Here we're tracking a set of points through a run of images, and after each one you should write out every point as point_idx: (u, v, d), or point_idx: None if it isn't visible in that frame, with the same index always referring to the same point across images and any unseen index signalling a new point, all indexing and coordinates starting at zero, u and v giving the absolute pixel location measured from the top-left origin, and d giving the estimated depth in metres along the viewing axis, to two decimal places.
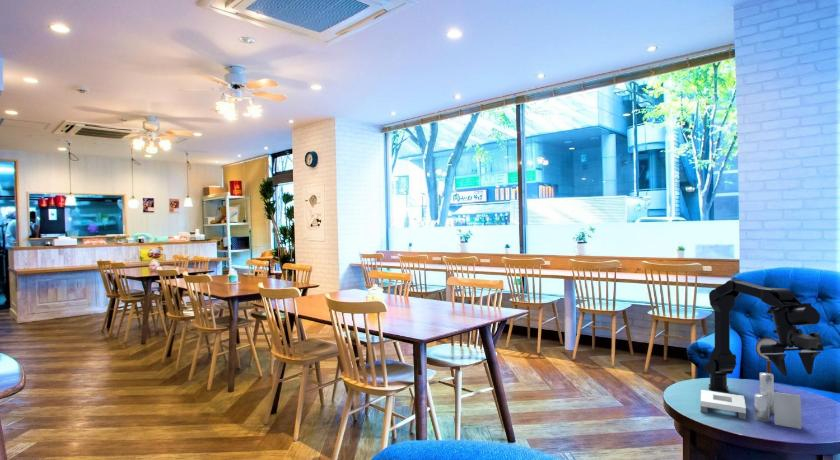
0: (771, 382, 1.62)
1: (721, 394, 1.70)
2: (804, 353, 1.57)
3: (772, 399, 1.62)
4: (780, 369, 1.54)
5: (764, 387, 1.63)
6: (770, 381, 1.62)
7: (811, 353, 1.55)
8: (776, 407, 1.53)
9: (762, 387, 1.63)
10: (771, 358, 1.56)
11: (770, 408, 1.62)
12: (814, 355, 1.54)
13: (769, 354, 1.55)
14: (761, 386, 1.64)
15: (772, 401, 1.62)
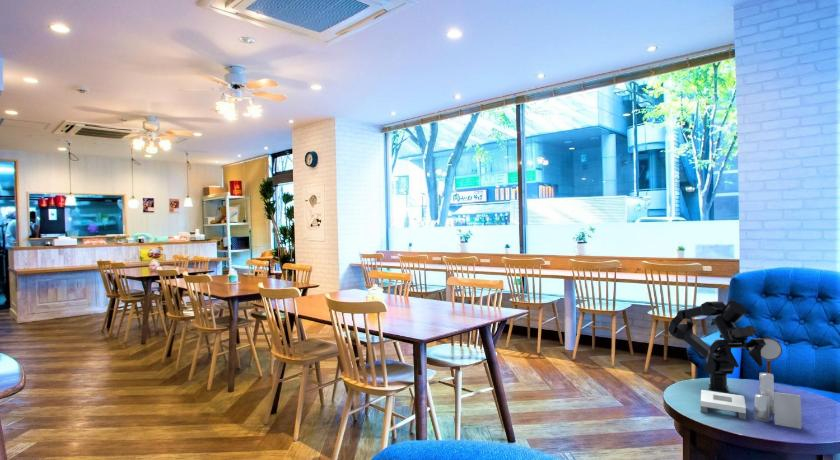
0: (771, 382, 1.62)
1: (721, 394, 1.70)
2: (752, 350, 1.77)
3: (772, 399, 1.62)
4: (732, 362, 1.73)
5: (764, 387, 1.63)
6: (770, 381, 1.62)
7: (755, 347, 1.75)
8: (776, 407, 1.53)
9: (762, 387, 1.63)
10: (722, 355, 1.76)
11: (770, 408, 1.62)
12: (758, 348, 1.74)
13: (718, 351, 1.76)
14: (761, 386, 1.64)
15: (772, 401, 1.62)
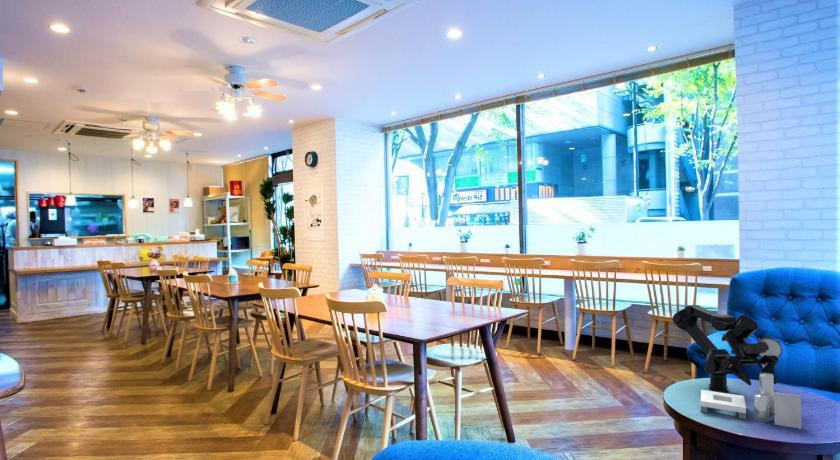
0: (771, 382, 1.62)
1: (721, 394, 1.70)
2: (764, 367, 1.71)
3: (772, 399, 1.62)
4: (744, 380, 1.67)
5: (764, 387, 1.63)
6: (770, 381, 1.62)
7: (768, 364, 1.69)
8: (776, 407, 1.53)
9: (762, 387, 1.63)
10: (734, 372, 1.70)
11: (770, 408, 1.62)
12: (772, 365, 1.69)
13: (730, 368, 1.70)
14: (761, 386, 1.64)
15: (772, 401, 1.62)
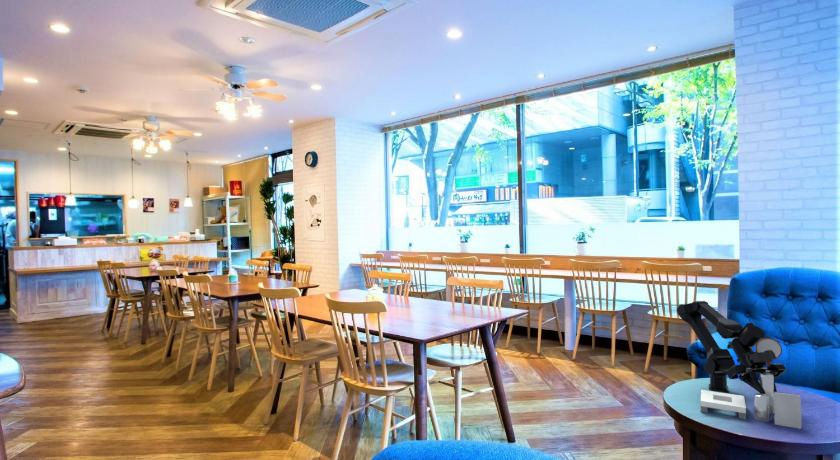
0: (771, 382, 1.62)
1: (721, 394, 1.70)
2: None
3: (772, 399, 1.62)
4: (757, 389, 1.64)
5: (764, 387, 1.63)
6: (770, 381, 1.62)
7: None
8: (776, 407, 1.53)
9: (762, 387, 1.63)
10: (747, 381, 1.67)
11: (770, 408, 1.62)
12: None
13: (742, 376, 1.67)
14: None
15: (772, 401, 1.62)
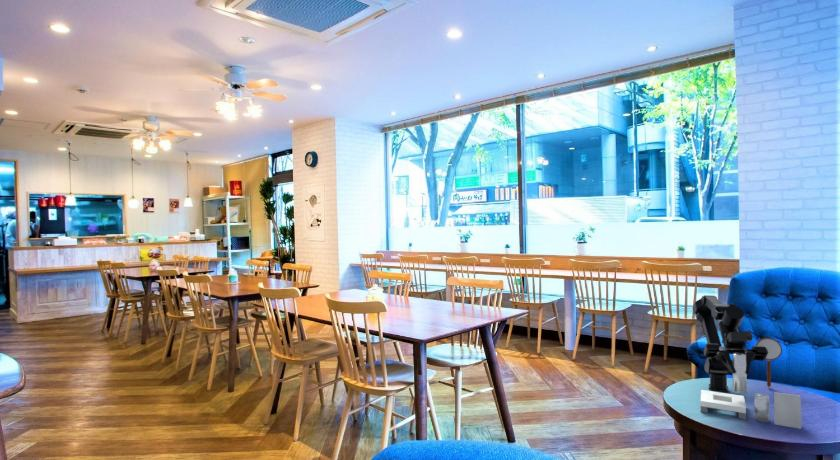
0: (741, 362, 1.63)
1: (721, 394, 1.70)
2: None
3: (743, 379, 1.63)
4: (729, 368, 1.66)
5: (735, 366, 1.64)
6: (740, 361, 1.63)
7: (746, 354, 1.66)
8: (776, 407, 1.53)
9: (733, 367, 1.65)
10: (722, 360, 1.70)
11: (740, 387, 1.63)
12: (749, 355, 1.65)
13: (717, 355, 1.70)
14: (733, 365, 1.65)
15: (743, 381, 1.63)
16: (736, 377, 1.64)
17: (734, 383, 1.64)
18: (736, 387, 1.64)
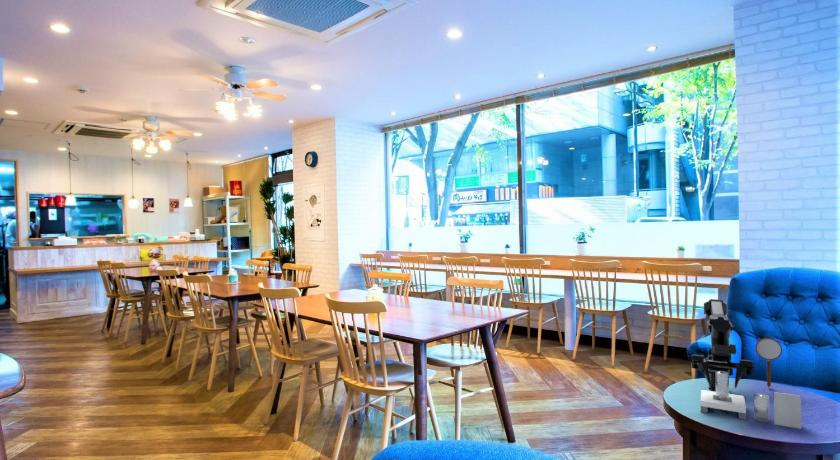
0: (722, 380, 1.65)
1: None
2: None
3: (724, 397, 1.65)
4: (706, 379, 1.69)
5: (716, 384, 1.66)
6: (721, 379, 1.65)
7: (736, 368, 1.66)
8: (776, 407, 1.53)
9: None
10: (703, 372, 1.73)
11: None
12: (739, 369, 1.65)
13: (698, 366, 1.74)
14: None
15: (724, 399, 1.65)
16: (717, 394, 1.66)
17: None
18: None
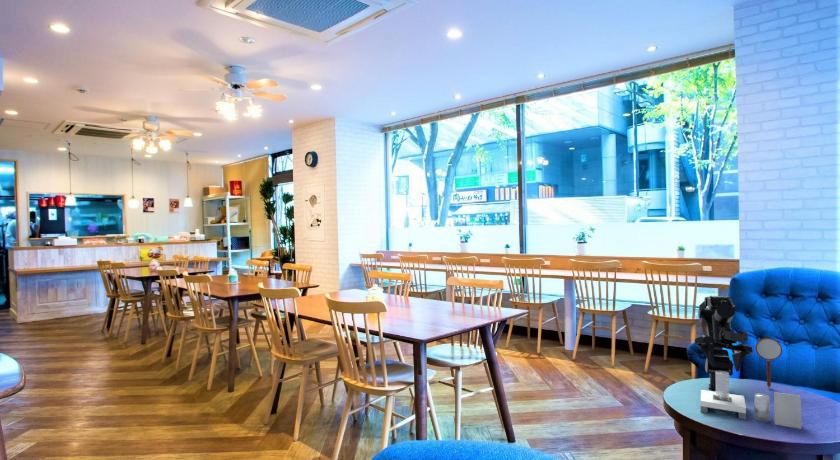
0: (723, 380, 1.65)
1: None
2: (736, 354, 1.76)
3: (724, 397, 1.65)
4: (709, 359, 1.74)
5: (717, 384, 1.66)
6: (721, 379, 1.65)
7: (740, 352, 1.73)
8: (776, 407, 1.53)
9: None
10: (703, 350, 1.76)
11: None
12: (743, 354, 1.73)
13: (701, 345, 1.76)
14: None
15: (724, 399, 1.65)
16: (717, 394, 1.66)
17: None
18: None
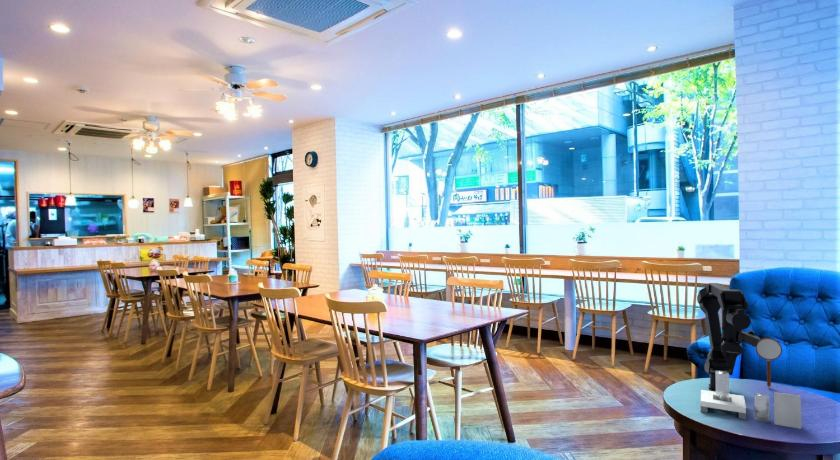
0: (723, 380, 1.65)
1: None
2: None
3: (724, 397, 1.65)
4: (730, 364, 1.69)
5: (717, 384, 1.66)
6: (721, 379, 1.65)
7: None
8: (776, 407, 1.53)
9: (716, 384, 1.67)
10: (725, 354, 1.69)
11: None
12: None
13: (729, 352, 1.67)
14: None
15: (724, 399, 1.65)
16: (717, 394, 1.66)
17: None
18: None
